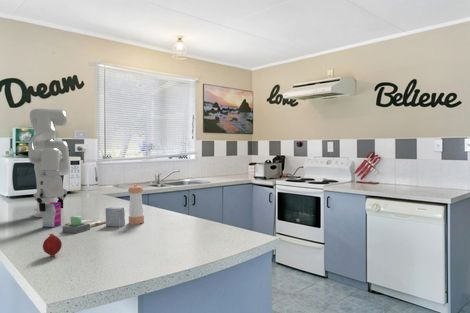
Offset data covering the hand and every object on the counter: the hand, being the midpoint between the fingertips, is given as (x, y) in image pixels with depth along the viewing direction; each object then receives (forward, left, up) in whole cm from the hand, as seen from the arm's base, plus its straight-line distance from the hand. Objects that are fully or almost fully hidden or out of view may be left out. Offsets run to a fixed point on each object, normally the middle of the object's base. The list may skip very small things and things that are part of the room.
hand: (51, 209), depth 163 cm
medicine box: (+27, +12, -8) cm, 31 cm away
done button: (+17, -2, -7) cm, 19 cm away
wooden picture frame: (+11, +10, -8) cm, 17 cm away
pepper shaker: (+33, +20, -8) cm, 40 cm away
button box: (+17, -2, -8) cm, 19 cm away
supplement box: (-1, 0, -8) cm, 8 cm away
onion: (+39, -32, -8) cm, 51 cm away
